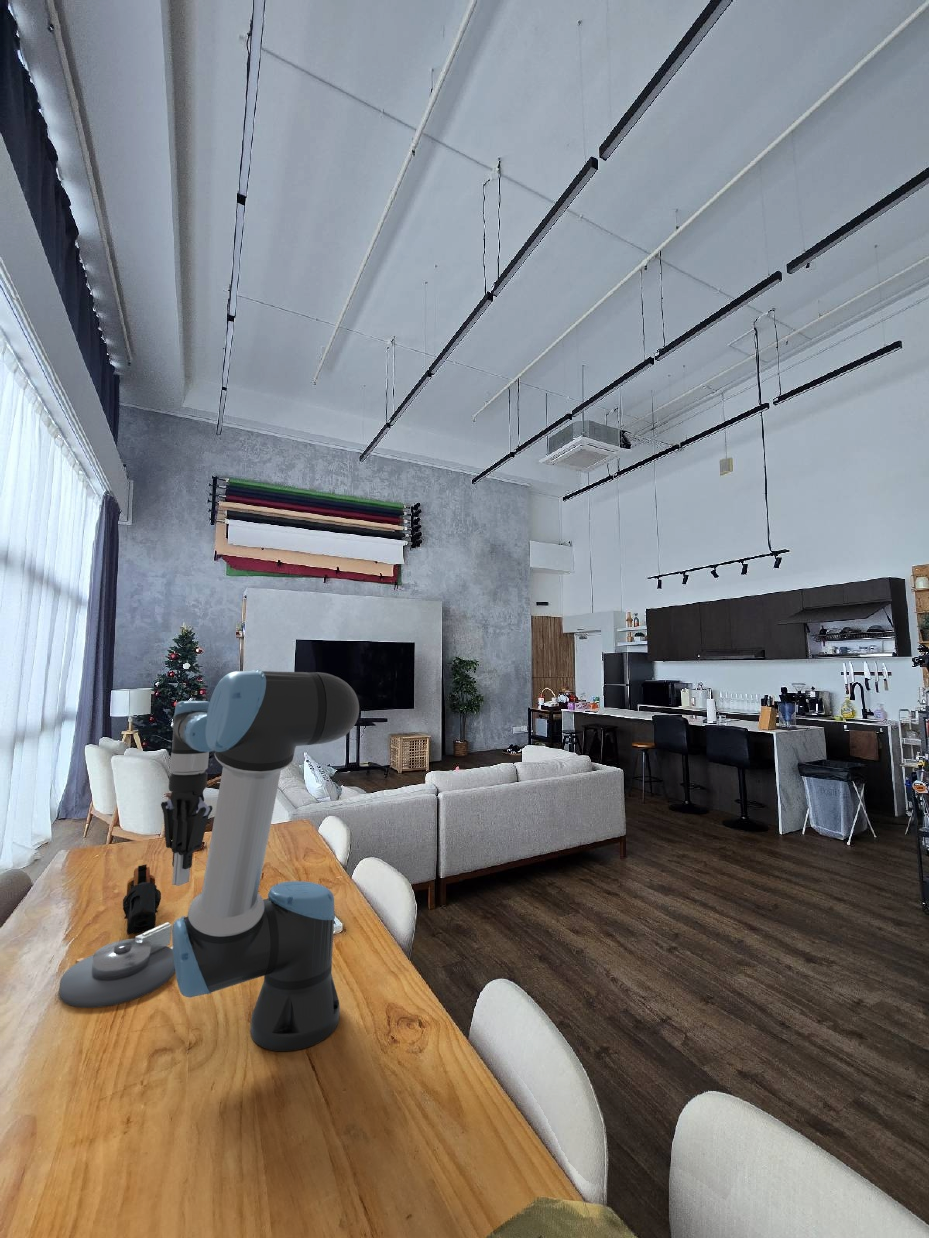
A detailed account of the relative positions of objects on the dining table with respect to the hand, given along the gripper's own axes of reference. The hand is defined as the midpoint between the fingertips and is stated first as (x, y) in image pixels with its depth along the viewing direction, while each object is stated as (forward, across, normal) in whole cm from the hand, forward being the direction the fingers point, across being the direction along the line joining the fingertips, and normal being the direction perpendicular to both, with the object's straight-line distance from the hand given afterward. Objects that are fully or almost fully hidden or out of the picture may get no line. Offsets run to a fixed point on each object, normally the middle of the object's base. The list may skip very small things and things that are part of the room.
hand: (180, 883), depth 118 cm
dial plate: (+16, +6, +7) cm, 19 cm away
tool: (+17, +25, -11) cm, 32 cm away
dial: (+14, +5, +6) cm, 16 cm away
